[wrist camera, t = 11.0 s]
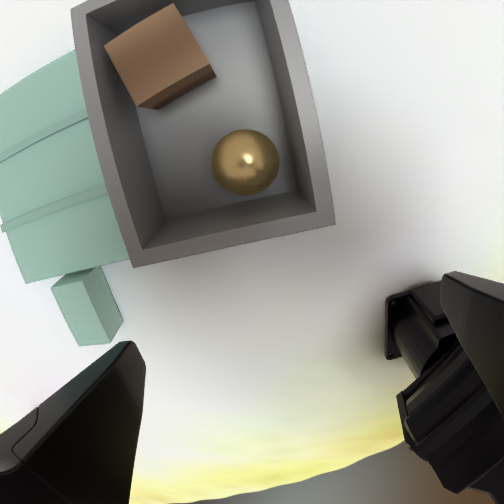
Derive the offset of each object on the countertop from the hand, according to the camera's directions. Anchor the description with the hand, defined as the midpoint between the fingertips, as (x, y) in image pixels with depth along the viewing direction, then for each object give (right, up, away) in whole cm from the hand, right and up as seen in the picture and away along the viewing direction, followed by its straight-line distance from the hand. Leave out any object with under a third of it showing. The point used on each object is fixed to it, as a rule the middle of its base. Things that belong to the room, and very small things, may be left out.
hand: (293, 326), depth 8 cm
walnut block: (-6, +13, +8) cm, 16 cm away
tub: (-4, +11, +10) cm, 15 cm away
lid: (-15, +5, +12) cm, 20 cm away
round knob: (-1, +8, +10) cm, 13 cm away
